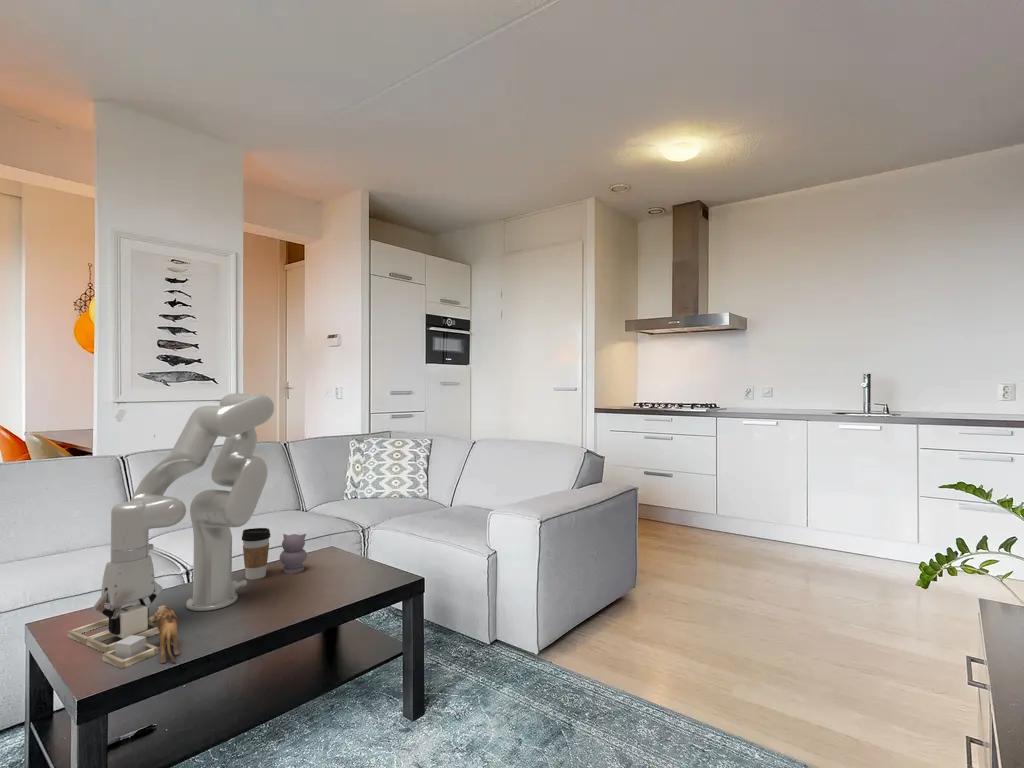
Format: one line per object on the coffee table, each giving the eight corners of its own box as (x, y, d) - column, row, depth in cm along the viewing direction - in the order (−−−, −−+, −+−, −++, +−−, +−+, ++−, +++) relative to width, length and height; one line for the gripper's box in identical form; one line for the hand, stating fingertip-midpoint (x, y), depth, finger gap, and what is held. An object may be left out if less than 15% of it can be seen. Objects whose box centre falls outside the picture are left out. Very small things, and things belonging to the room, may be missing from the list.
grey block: (131, 652, 126) (131, 634, 126) (145, 654, 125) (145, 636, 125) (115, 661, 122) (115, 642, 122) (130, 663, 121) (130, 644, 121)
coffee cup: (237, 576, 176) (237, 529, 176) (264, 570, 182) (264, 524, 182) (246, 583, 170) (247, 534, 170) (274, 576, 176) (274, 529, 176)
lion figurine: (147, 644, 129) (148, 606, 129) (173, 637, 133) (173, 600, 133) (162, 668, 119) (162, 626, 119) (190, 659, 122) (190, 619, 123)
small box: (139, 646, 128) (139, 640, 128) (158, 653, 125) (158, 647, 125) (102, 660, 122) (102, 654, 122) (121, 668, 118) (121, 662, 118)
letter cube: (134, 624, 137) (134, 602, 137) (147, 629, 134) (147, 606, 134) (110, 633, 132) (110, 610, 132) (122, 638, 129) (123, 614, 129)
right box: (130, 615, 145) (130, 610, 145) (148, 622, 141) (148, 617, 141) (67, 637, 133) (67, 631, 133) (85, 644, 129) (85, 638, 129)
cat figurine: (275, 574, 178) (275, 537, 178) (285, 566, 185) (285, 531, 186) (301, 574, 178) (302, 537, 178) (310, 566, 186) (310, 531, 186)
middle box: (149, 622, 141) (149, 617, 141) (168, 629, 137) (168, 624, 137) (86, 645, 129) (86, 639, 129) (105, 653, 125) (105, 647, 125)
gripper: (157, 542, 142) (156, 612, 142) (80, 561, 127) (79, 639, 127) (174, 547, 139) (174, 618, 139) (98, 566, 124) (97, 646, 124)
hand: (129, 627), depth 133 cm, fingers closed on letter cube, 5 cm apart
